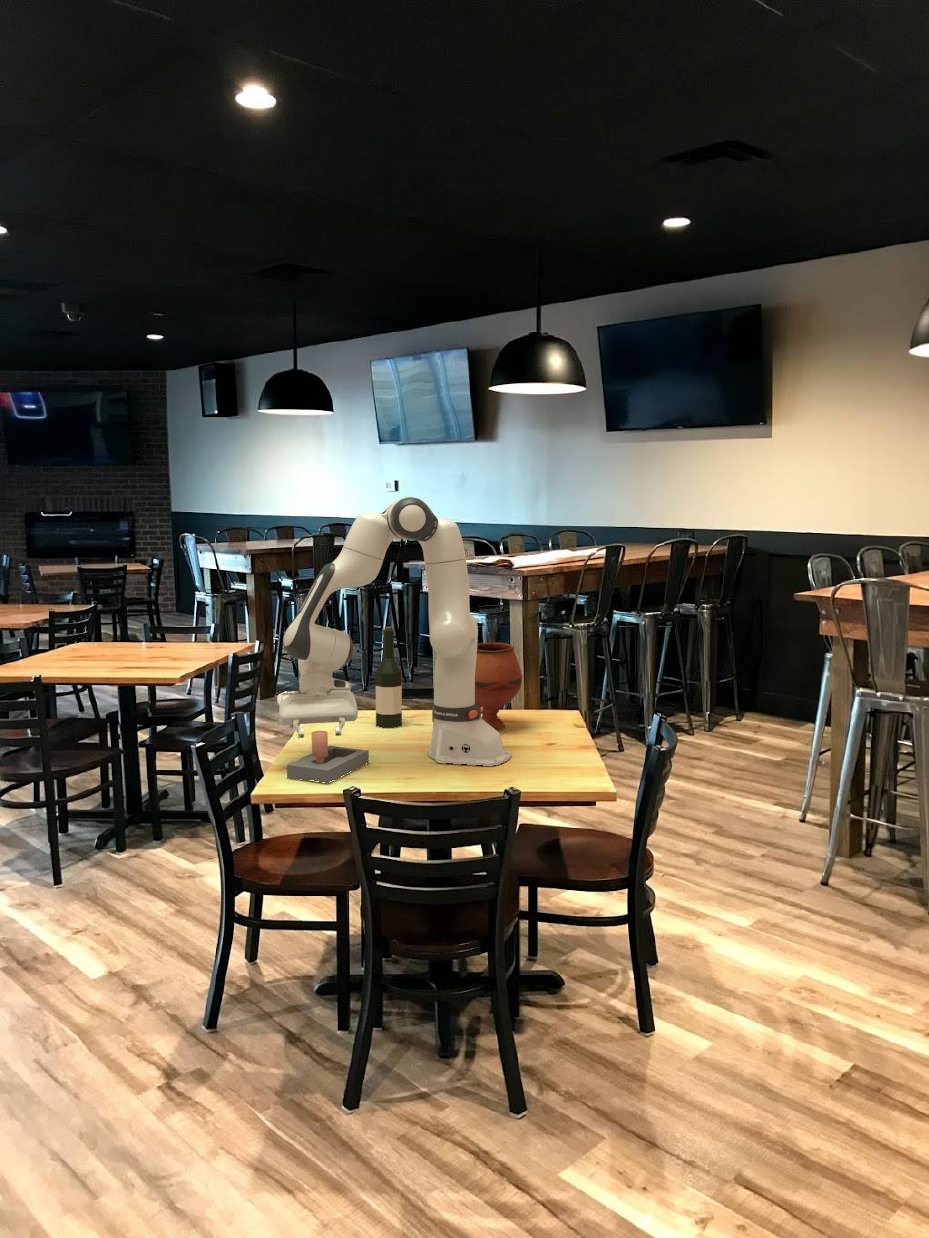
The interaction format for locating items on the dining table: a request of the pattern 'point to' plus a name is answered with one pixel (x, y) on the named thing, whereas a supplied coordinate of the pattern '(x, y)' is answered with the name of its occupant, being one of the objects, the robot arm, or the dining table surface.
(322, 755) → the peg
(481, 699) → the goblet
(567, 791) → the dining table surface
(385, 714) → the wine bottle
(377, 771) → the dining table surface
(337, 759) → the keyhole plate
